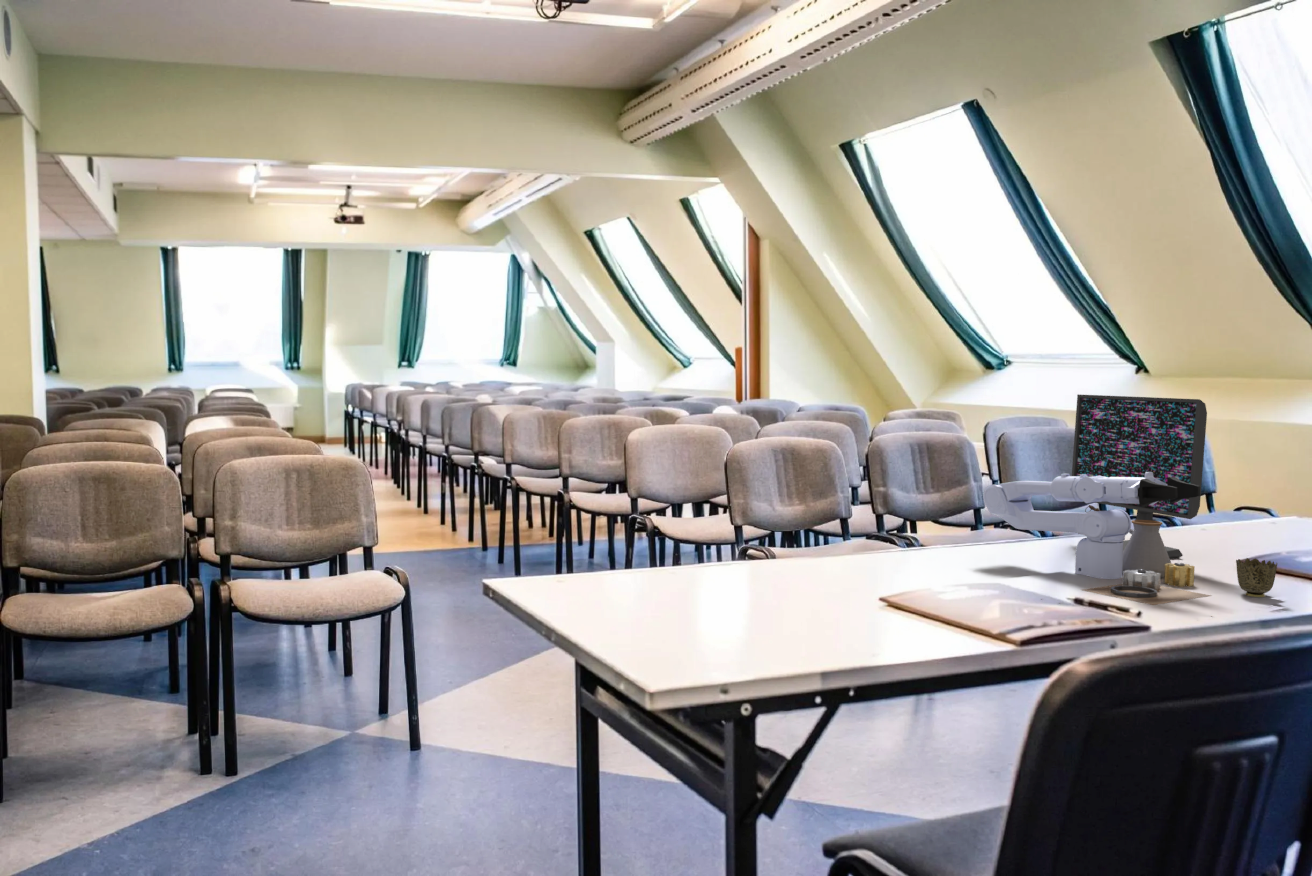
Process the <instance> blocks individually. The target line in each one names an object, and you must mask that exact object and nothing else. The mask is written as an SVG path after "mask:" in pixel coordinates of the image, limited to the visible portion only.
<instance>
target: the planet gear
mask: <svg viewBox="0 0 1312 876" xmlns="http://www.w3.org/2000/svg"><path fill="white" fill-rule="evenodd" d="M1171 563H1172V562H1171ZM1171 563H1167V564H1165V571H1164V578H1163V584H1165V585H1168V586H1173V587H1174V586H1175V587H1180V588H1181V587H1182V588H1184V587H1189V588H1190V587H1193V586H1194V585H1195V566H1194V565H1190V564H1187V563H1183V562H1174V563H1172V564H1171Z"/></svg>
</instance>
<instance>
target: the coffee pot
mask: <svg viewBox="0 0 1312 876" xmlns="http://www.w3.org/2000/svg"><path fill="white" fill-rule="evenodd" d="M1088 508H1089V509H1090V510H1089V511H1087V509H1088ZM1090 511H1101V510H1100V509H1099V508H1098V507H1095V506H1093V505H1091V504H1088V506H1087V507H1085V509H1084V513H1088V512H1090ZM1131 524H1132V525H1133V529H1130V531H1129V533H1128V534H1130V535H1131V536H1130V537H1129V539H1128V540H1129V541H1128V543H1127V545H1126V547H1125V549H1124V551H1123V564H1122V574H1123V571H1125V570H1138V569H1145V570H1146V571H1154V572H1155V573H1160V574H1161V575H1160V579H1161V578H1163V579H1164V571H1165V564H1167V563H1171V564H1173V563H1172V560H1171V559H1170V558H1169V556H1168V553H1167V551H1166V548H1165V543H1164V541H1163V539H1162V536H1161V533H1160V528H1161V526H1162V525H1163V522H1162V521H1160V520H1159V521H1158V520H1154V519H1153V520H1136V519H1132V520H1131Z"/></svg>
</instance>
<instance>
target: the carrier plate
mask: <svg viewBox="0 0 1312 876" xmlns="http://www.w3.org/2000/svg"><path fill="white" fill-rule="evenodd" d="M1113 586H1123V583H1119V584H1111V585H1104V586H1098V587H1091V588H1083V589H1081V591H1083V592H1088V593H1093V594H1096V595H1103V596H1108V597H1112V598H1117V599H1122V600H1126V601H1131V602H1132V601H1133V602H1137V603H1142V604H1147V605H1151V606H1156V605H1164V604H1168V603H1169V604H1170V603H1175V602H1176V603H1177V602H1181V601H1182V602H1183V601H1188V600H1193V599H1201V598H1207V597H1212V596H1213V595H1211V594H1206V593H1200V592H1195V591H1190V590H1185V589H1178V588H1174V587H1169V586H1164V585H1160V588H1158V589H1157V590H1156V591H1157V596H1156V597H1152V598H1134V597H1125V596H1120V595H1115V594H1113V593H1111V588H1112V587H1113ZM1118 591H1123V592H1129V593H1148V592H1143V591H1135V590H1118Z"/></svg>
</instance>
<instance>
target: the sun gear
mask: <svg viewBox="0 0 1312 876" xmlns="http://www.w3.org/2000/svg"><path fill="white" fill-rule="evenodd" d="M1160 575H1161V574H1160V573H1155V572H1154V571H1146V570H1145V569H1138V570H1125V571H1123V573H1122V584H1123V586H1139V587H1146V588H1151V589H1154V590H1157V589H1158V588H1160V586H1161V578H1160Z"/></svg>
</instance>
